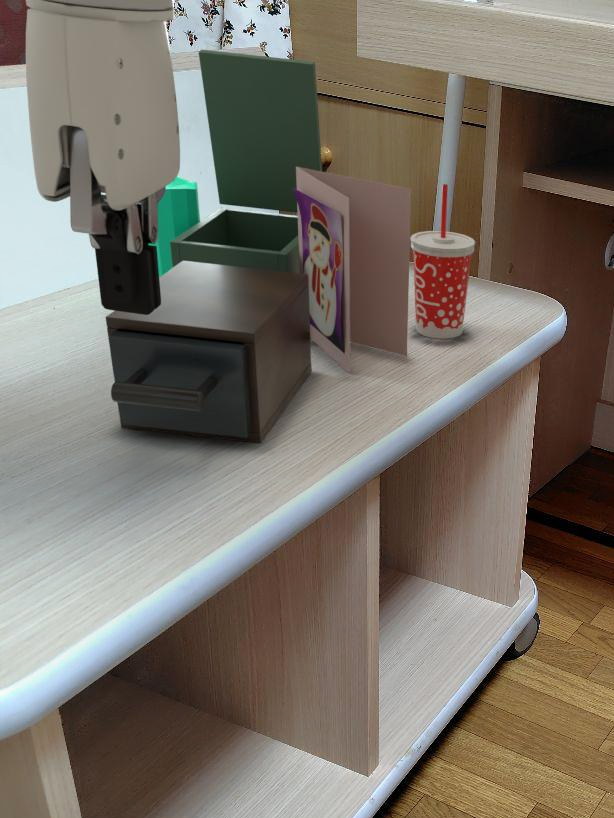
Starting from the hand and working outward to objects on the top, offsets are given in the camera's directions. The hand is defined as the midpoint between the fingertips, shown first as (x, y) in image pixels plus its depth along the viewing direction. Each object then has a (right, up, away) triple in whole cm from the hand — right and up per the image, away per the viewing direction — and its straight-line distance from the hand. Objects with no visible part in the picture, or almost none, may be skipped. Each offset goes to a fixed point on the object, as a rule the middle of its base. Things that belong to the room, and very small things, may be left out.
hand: (132, 307), depth 63 cm
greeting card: (+9, +3, +29) cm, 30 cm away
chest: (-2, +8, +35) cm, 36 cm away
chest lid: (-1, +24, +32) cm, 40 cm away
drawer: (0, -4, +13) cm, 14 cm away
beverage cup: (+16, +6, +35) cm, 39 cm away
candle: (-11, +11, +39) cm, 42 cm away
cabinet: (0, -3, +17) cm, 17 cm away
